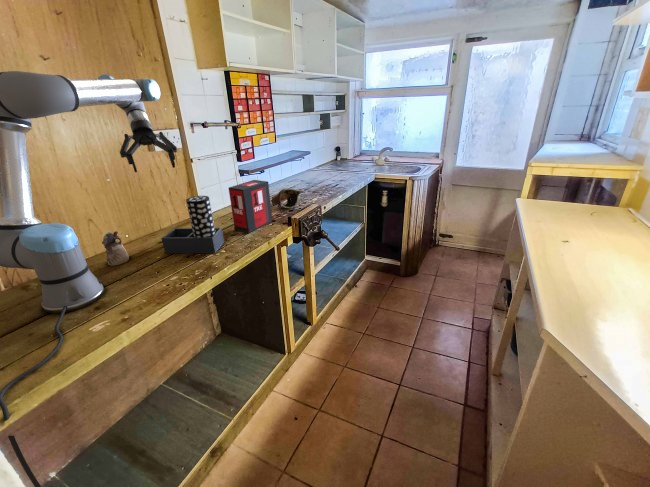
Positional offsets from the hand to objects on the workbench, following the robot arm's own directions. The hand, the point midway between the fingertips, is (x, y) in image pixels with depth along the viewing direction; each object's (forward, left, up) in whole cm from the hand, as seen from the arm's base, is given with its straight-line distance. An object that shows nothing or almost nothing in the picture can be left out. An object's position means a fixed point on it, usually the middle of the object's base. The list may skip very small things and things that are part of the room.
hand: (155, 168), depth 122 cm
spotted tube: (-6, -17, -31) cm, 36 cm away
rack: (-6, -12, -32) cm, 35 cm away
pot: (+49, -41, -32) cm, 72 cm away
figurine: (-18, +13, -32) cm, 39 cm away
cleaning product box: (+19, -30, -32) cm, 48 cm away
